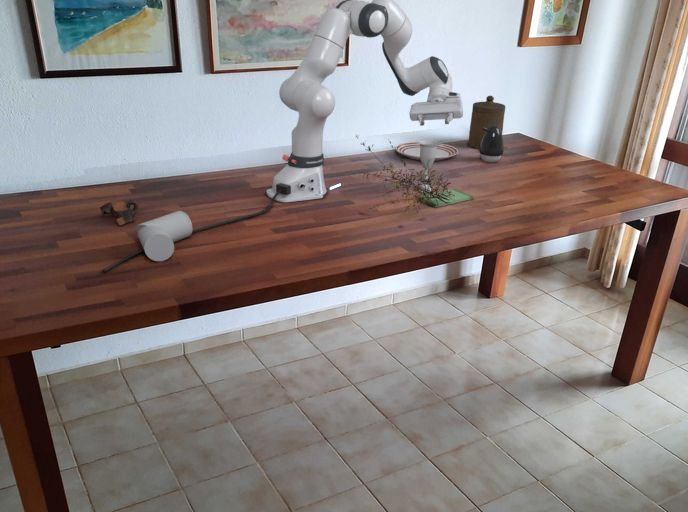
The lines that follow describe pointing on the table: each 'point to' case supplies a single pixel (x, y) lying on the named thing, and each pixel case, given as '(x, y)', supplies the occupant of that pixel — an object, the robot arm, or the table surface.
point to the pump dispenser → (491, 144)
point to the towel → (458, 197)
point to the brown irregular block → (120, 210)
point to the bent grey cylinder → (163, 234)
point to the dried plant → (413, 185)
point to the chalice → (427, 157)
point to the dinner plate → (414, 150)
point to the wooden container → (485, 119)
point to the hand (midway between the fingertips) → (434, 123)
